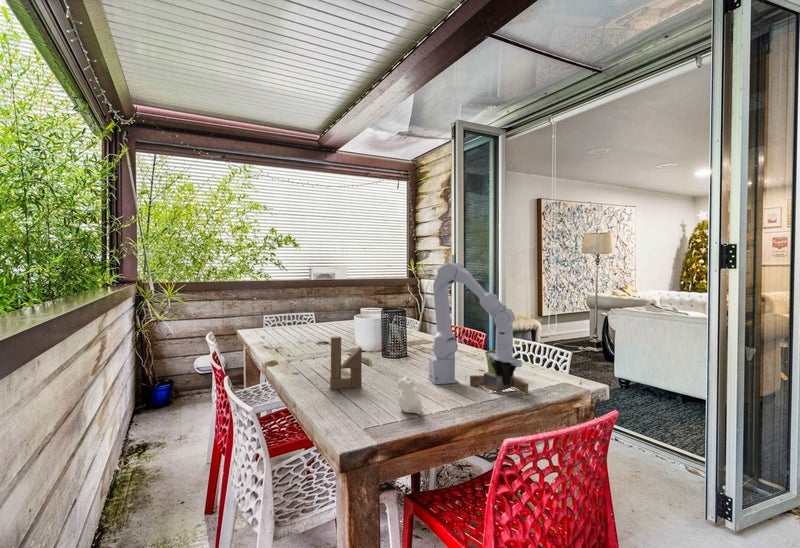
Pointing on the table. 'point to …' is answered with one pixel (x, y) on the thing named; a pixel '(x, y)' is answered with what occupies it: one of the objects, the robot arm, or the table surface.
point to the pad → (486, 388)
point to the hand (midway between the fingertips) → (503, 383)
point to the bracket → (497, 381)
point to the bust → (408, 396)
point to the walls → (517, 382)
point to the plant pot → (490, 361)
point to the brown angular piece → (352, 362)
